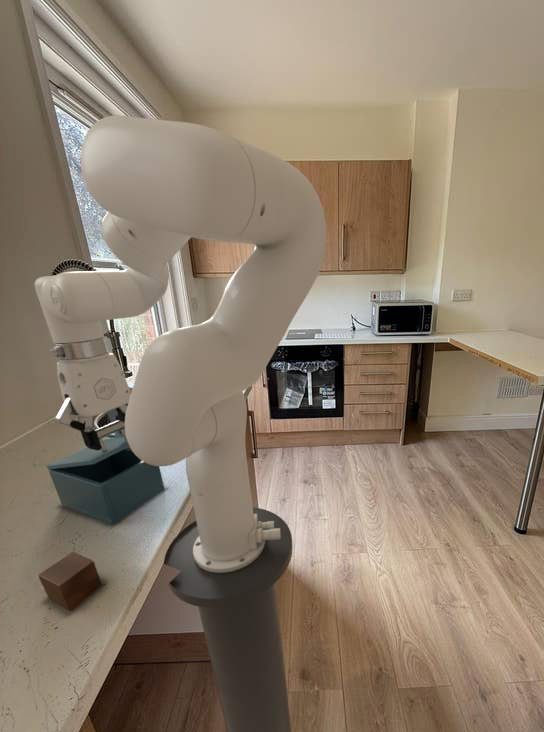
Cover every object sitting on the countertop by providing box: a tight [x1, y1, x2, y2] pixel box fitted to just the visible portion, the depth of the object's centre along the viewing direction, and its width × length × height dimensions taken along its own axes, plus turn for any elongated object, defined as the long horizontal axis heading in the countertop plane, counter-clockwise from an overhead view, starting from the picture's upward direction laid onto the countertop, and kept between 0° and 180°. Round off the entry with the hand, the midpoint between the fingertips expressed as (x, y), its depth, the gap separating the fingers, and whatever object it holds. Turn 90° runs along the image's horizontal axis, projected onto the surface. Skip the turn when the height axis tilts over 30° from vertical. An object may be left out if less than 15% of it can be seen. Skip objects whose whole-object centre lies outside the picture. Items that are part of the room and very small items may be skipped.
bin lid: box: [46, 419, 130, 470], centre depth 71 cm, size 17×13×5 cm
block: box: [37, 551, 103, 612], centre depth 52 cm, size 5×5×5 cm
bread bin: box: [48, 448, 165, 526], centre depth 74 cm, size 16×13×9 cm
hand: (111, 440), depth 68 cm, fingers closed on bin lid, 6 cm apart
